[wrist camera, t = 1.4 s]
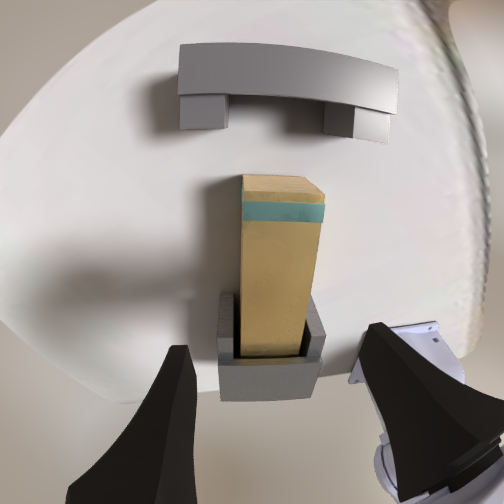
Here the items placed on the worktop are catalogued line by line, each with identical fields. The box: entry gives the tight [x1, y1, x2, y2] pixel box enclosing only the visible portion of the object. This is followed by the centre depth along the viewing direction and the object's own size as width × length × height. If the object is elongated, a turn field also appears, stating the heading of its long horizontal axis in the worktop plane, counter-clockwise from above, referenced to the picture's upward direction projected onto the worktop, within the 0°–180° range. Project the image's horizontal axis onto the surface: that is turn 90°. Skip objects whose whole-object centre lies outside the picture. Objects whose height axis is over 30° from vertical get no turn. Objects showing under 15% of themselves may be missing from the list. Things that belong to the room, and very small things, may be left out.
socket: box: [177, 43, 398, 144], centre depth 13 cm, size 10×4×6 cm, turn 88°
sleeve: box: [217, 293, 326, 401], centre depth 20 cm, size 7×7×6 cm
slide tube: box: [239, 175, 325, 359], centre depth 18 cm, size 4×15×4 cm, turn 178°
